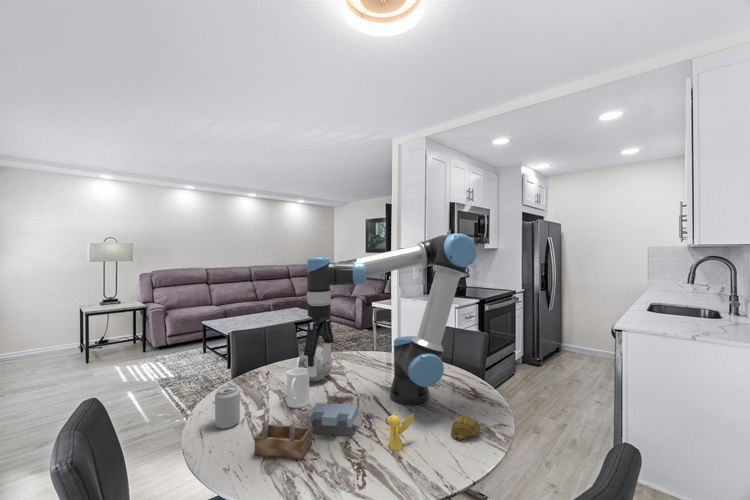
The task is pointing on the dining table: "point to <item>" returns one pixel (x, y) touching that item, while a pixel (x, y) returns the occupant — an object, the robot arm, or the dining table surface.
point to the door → (333, 414)
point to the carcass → (283, 441)
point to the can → (227, 407)
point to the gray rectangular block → (332, 428)
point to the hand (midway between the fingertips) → (320, 368)
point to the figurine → (397, 430)
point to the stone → (322, 367)
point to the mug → (297, 387)
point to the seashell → (465, 427)
